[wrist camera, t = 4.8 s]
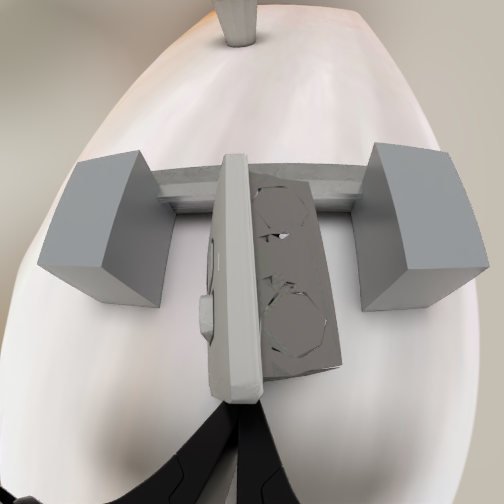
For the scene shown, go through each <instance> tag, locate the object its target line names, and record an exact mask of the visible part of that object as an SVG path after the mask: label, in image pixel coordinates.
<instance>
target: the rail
mask: <svg viewBox="0 0 504 504" xmlns="http://www.w3.org/2000/svg"><path fill="white" fill-rule="evenodd" d="M221 166H222V165H217V166H202V167H189V168H178V169H168V170H158V171H151V172H152V174H153V176H154V177H155V179H156V181H157V183H158V184H159V186H160V187H159V191H158V194H157V199H158V201H159V202H160V203H163V202H169V204H170V206H171V207H172V209H173V211H174V213H175V214H181V213H209V212H213V209H214V202H215V195H216V188H217V184H218V179H219V175H220V171H221ZM366 168H367V166H359V165H340V164H306V163H271V164H248V171H250V172H253V173H257V174H268V175H272V176H275V177H278V178H281V179H288V180H298V181H307V182H309V185H310V189H311V193H312V197H313V201H314V205H315V210H316V211H321V212H351V211H352V209H353V206H354V203H355V200H362V199H363V196H364V191H363V186H362V180H363V177H364V174H365V171H366ZM302 202H303V203H304V201H303V200H302Z"/></svg>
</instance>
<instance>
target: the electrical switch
mask: <svg viewBox="0 0 504 504" xmlns="http://www.w3.org/2000/svg"><path fill="white" fill-rule="evenodd" d="M302 200H303V201H304V203H303V202H302ZM302 223H303V224H302ZM280 234H290V235H288V236H287V237H285V238H284V239H283V240H282V239H280V238H279V235H280ZM271 280H272V283H271ZM285 283H289V284H294V285H284V284H285ZM283 285H284V286H283ZM299 292H303V294H304V295H300V294H295V293H299ZM325 319H326V320H327V321H326V325H325ZM199 324H200V332H201V334H202V335H203V336H204V338H205V339H206V340H207V341H208V372H209V386H210V391H211V396H213V397H216V398H218V399H220V400H225V402H227V403H229V404H256V403H257V401H258V400H259V399H260V397H261V396H262V395H263V393H264V392H263V381H274V380H281V379H288V378H294V377H300V376H306V375H311V374H315V373H320V372H324V371H328V370H332V369H336V368H329V367H334V366H340V365H342V358H341V350H340V343H339V335H338V328H337V321H336V315H335V308H334V302H333V296H332V290H331V284H330V278H329V273H328V268H327V262H326V257H325V252H324V247H323V242H322V237H321V232H320V228H319V223H318V219H317V214H316V210H315V205H314V201H313V197H312V193H311V189H310V185H309V182H307V181H298V180H288V179H281V178H278V177H275V176H272V175H268V174H257V173H253V172H250V171H248V159H247V154H226V155H225V156H224V158H223V162H222V166H221V171H220V175H219V179H218V184H217V188H216V195H215V202H214V209H213V216H212V223H211V230H210V237H209V246H208V256H207V295H205V296H201V297H200V306H199ZM317 347H318V348H317ZM316 348H317V349H316ZM314 349H315V350H314ZM313 350H314V351H313ZM311 351H312V352H311ZM310 352H311V353H310ZM308 353H309V354H308ZM323 368H329V369H323ZM338 368H340V367H338ZM316 369H319V370H316Z"/></svg>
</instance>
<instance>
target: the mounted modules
mask: <svg viewBox="0 0 504 504" xmlns="http://www.w3.org/2000/svg"><path fill="white" fill-rule="evenodd" d="M362 186H363V191H364V196H363V199H362V200H355V203H354V206H353V209H352V211H351V217H352V224H353V231H354V238H355V245H356V253H357V262H358V271H359V281H360V292H361V305H362V311H381V310H398V309H412V308H424V307H429V306H431V305H433V304H434V303H436V302H438V301H439V300H441V299H442V298H444V297H446V296H447V295H449V294H451V293H452V292H454V291H455V290H457V289H458V288H460V287H461V286H463V285H464V284H466V283H467V282H469V281H470V280H472V279H473V278H475V277H476V276H477V275H479V274H480V273H482V272H483V271H485V270H486V269H487V268H489V267H490V266H489V262H488V258H487V254H486V250H485V247H484V243H483V240H482V236H481V233H480V230H479V227H478V224H477V221H476V218H475V215H474V212H473V210H472V207H471V204H470V202H469V199H468V196H467V194H466V191H465V189H464V187H463V184H462V182H461V180H460V177H459V175H458V173H457V171H456V169H455V167H454V164H453V162H452V160H451V158H450V157H449V154H448V153H446V152H441V151H435V150H429V149H423V148H417V147H410V146H402V145H395V144H386V143H376V142H375V143H374V146H373V150H372V153H371V156H370V159H369V162H368V165H367V168H366V171H365V174H364V177H363V180H362ZM159 187H160V186H159V184H158V183H157V181H156V179H155V177H154V176H153V174H152V172H151V170H150V168H149V166H148V165H147V163H146V161H145V159H144V157H143V155H142V154H141V152H140V150H137V151H131V152H126V153H120V154H115V155H110V156H105V157H100V158H95V159H91V160H87V161H82V162H78V163H77V164H76V166H75V168H74V170H73V172H72V174H71V177H70V179H69V181H68V183H67V185H66V187H65V189H64V192H63V194H62V196H61V199H60V201H59V203H58V206H57V208H56V211H55V213H54V216H53V218H52V221H51V223H50V226H49V229H48V232H47V234H46V237H45V240H44V243H43V246H42V249H41V252H40V256H39V259H38V262H37V265H39V266H40V267H42V268H43V269H45V270H46V271H48V272H50V273H51V274H53V275H54V276H56V277H58V278H59V279H61V280H63V281H64V282H66V283H68V284H69V285H71V286H73V287H75V288H76V289H78V290H80V291H81V292H83V293H85V294H87V295H89V296H90V297H92V298H94V299H96V300H98V301H100V302H104V303H113V304H122V305H132V306H143V307H155V308H160V300H161V294H162V287H163V281H164V275H165V269H166V263H167V257H168V252H169V246H170V241H171V236H172V231H173V226H174V221H175V216H176V214H175V213H174V211H173V209H172V207H171V206H170V204H169V202H163V203H160V202H159V201H158V199H157V194H158V191H159Z"/></svg>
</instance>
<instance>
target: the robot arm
mask: <svg viewBox="0 0 504 504" xmlns="http://www.w3.org/2000/svg"><path fill="white" fill-rule="evenodd" d="M236 464H237V503H236V504H300V502H299V501H298V499H297V497H296V495H295V493H294V492H293V490H292V488H291V485H290V483H289V481H288V478H287V476H286V473H285V470H284V468H283V467H282V466H283V465H282V462H281V460H280V457H279V454H278V451H277V449H276V446H275V443H274V440H273V437H272V434H271V431H270V428H269V426H268V423H267V420H266V417H265V414H264V411H263V408H262V405H261V402H260V399H259V400H258V401H257V403H256V404H229V403H227V402H225V400H223V402H222V403H221V404H220V405H219V406H218V407H217V409H216V410H215V411H214V412H213V413H212V414H211V415H210V417H209V418H208V419H207V420H206V421H205V422H204V423H203V424H202V426H201V427H200V428H199V429H198V430H197V431H196V432H195V433H194V434H193V435H192V436H191V438H190V439H189V440H188V441H187V442H186V443H185V444H184V445H183V446H182V447H181V448H180V449H179V450H178V451H177V452H176V454H175V455H173V456H172V458H171V459H170V460H169V461H168V462H167V463H165V464H164V465H163V466H162V467H161V468H160V469H159V470H158V471H157V472H155V473H154V474H153V475H152V476H150V477H149V478H148V479H146V480H145V481H144V482H142V483H141V484H140V485H138V486H137V487H135V488H134V489H132V490H131V491H129V492H128V493H127V494H125V495H124V496H122V497H120V498H118V499H117V500H114V501H112V502H109V503H105V504H225V501H226V498H227V495H228V491H229V488H230V484H231V481H232V478H233V474H234V471H235V467H236ZM0 504H43V503H41V502H40V501H39V500H37V499H36V498H34V497H32V496H27V497H22V498H19V499H17V498H16V497H14V496H13V495H12V494H11V493H10V492H8V491H7V490H6V489H5V488H3V487H2V486H1V485H0Z"/></svg>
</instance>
